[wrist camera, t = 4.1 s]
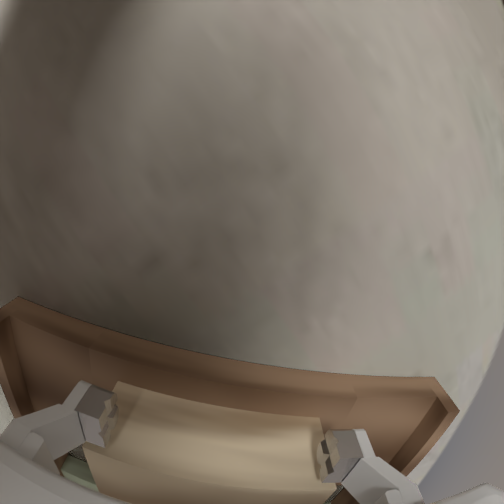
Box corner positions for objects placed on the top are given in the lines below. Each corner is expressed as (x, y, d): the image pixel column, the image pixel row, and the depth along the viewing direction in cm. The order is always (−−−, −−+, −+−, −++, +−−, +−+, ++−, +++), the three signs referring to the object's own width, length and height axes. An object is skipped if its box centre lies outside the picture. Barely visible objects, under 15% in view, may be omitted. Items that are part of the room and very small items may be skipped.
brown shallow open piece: (18, 296, 13) (-35, 333, 9) (434, 377, 15) (471, 427, 10) (76, 486, 19) (62, 517, 15) (310, 528, 21) (315, 562, 16)
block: (117, 380, 12) (81, 446, 8) (319, 417, 13) (336, 489, 8) (125, 447, 14) (104, 502, 9) (285, 476, 14) (291, 534, 10)
